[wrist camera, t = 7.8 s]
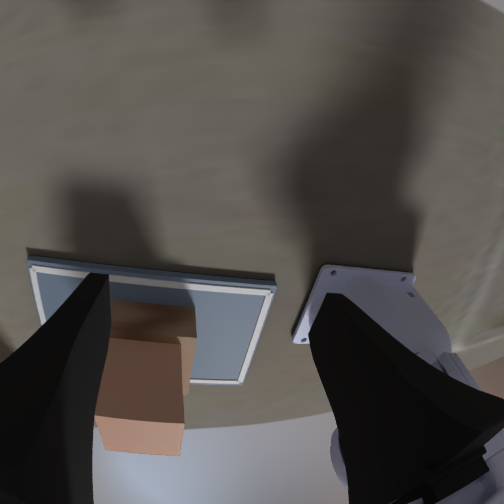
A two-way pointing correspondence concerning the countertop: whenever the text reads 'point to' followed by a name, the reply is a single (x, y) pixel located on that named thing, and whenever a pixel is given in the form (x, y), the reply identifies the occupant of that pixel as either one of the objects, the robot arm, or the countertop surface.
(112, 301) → the walnut base block
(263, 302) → the board
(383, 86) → the countertop surface
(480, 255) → the countertop surface
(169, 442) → the terracotta block
